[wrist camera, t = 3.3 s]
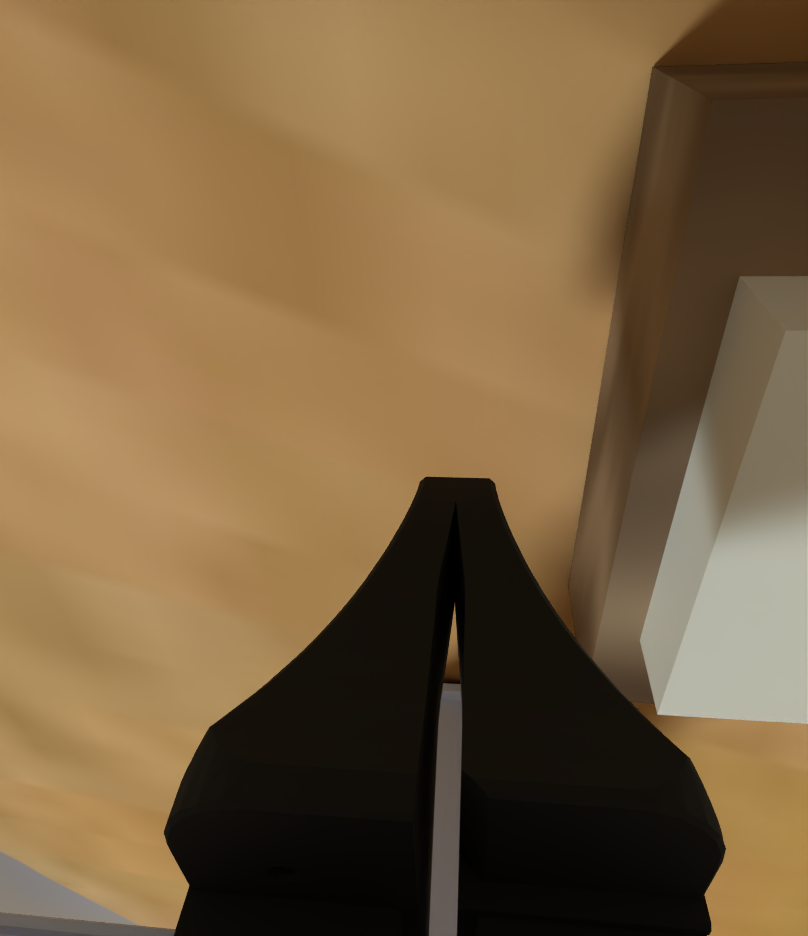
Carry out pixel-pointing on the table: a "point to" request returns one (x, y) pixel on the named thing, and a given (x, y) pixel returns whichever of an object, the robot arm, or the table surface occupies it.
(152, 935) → the robot arm
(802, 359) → the cream flat block
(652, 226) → the brown flat block
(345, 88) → the table surface
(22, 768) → the table surface
